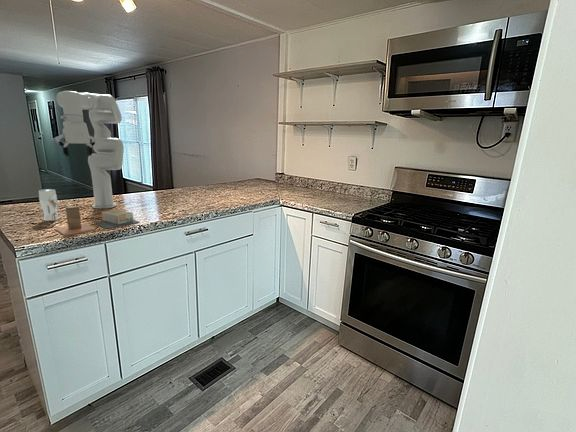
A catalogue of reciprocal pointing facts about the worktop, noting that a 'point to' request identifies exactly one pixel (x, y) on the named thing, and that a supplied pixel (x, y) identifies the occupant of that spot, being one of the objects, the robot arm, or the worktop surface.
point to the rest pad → (75, 230)
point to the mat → (113, 224)
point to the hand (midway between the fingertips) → (78, 155)
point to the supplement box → (117, 216)
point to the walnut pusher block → (73, 217)
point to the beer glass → (49, 204)
